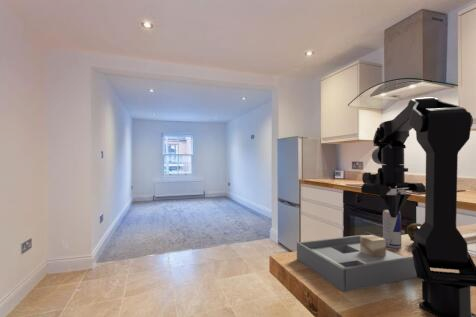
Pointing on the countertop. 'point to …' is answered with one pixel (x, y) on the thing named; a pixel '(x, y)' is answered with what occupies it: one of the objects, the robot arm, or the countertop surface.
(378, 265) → the box
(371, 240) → the birch block
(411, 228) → the potato
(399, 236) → the energy drink
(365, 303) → the countertop surface
